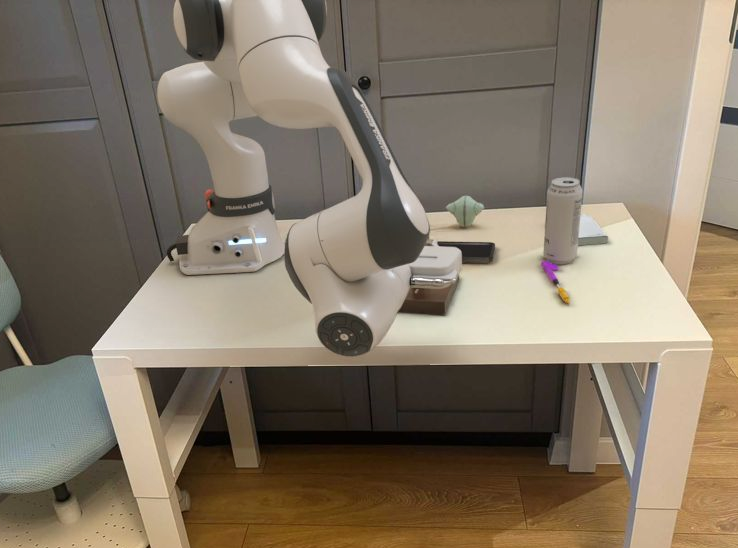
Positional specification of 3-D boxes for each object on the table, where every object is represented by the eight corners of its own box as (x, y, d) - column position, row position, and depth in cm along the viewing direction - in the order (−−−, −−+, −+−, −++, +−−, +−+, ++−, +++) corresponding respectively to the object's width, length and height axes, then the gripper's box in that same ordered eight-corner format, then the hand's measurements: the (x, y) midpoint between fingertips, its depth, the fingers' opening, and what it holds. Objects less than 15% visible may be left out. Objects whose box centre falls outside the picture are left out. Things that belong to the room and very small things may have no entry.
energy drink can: (546, 251, 138) (551, 175, 130) (578, 254, 135) (585, 176, 128) (540, 264, 133) (545, 186, 126) (573, 267, 131) (580, 187, 123)
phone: (420, 241, 145) (495, 242, 141) (420, 246, 146) (495, 247, 141) (413, 256, 139) (492, 258, 134) (413, 261, 139) (492, 263, 135)
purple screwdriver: (539, 264, 132) (563, 304, 119) (541, 258, 132) (565, 298, 118) (553, 266, 132) (578, 306, 119) (555, 260, 132) (581, 300, 118)
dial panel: (444, 315, 120) (444, 301, 118) (381, 310, 123) (380, 297, 122) (459, 279, 131) (459, 266, 130) (401, 276, 135) (400, 263, 133)
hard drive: (608, 235, 138) (589, 212, 148) (565, 238, 138) (549, 216, 149) (607, 243, 138) (588, 220, 149) (564, 246, 139) (549, 223, 150)
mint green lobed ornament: (445, 230, 152) (445, 199, 149) (447, 223, 156) (447, 193, 152) (483, 230, 150) (484, 199, 147) (485, 223, 153) (485, 192, 150)
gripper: (453, 263, 94) (470, 225, 105) (308, 257, 101) (339, 221, 112) (453, 306, 97) (470, 264, 108) (313, 297, 104) (342, 258, 115)
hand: (402, 242), depth 110 cm, fingers open, 8 cm apart
